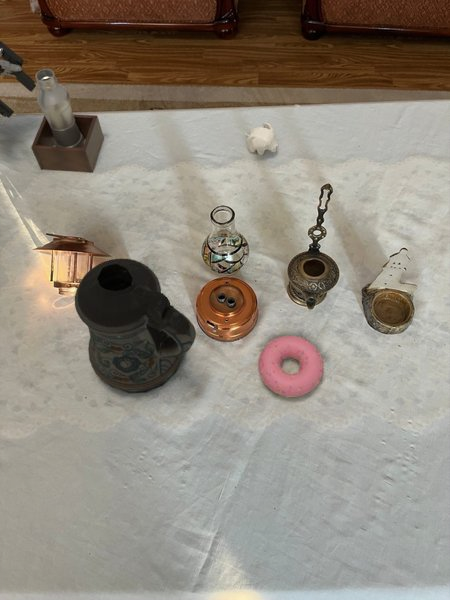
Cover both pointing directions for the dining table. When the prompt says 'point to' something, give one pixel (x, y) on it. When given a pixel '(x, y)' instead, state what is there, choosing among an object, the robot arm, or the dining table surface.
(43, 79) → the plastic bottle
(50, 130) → the crate
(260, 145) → the elephant figurine
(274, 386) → the doughnut
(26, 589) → the dining table surface
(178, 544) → the dining table surface
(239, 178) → the dining table surface
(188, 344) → the dark ceramic jug
